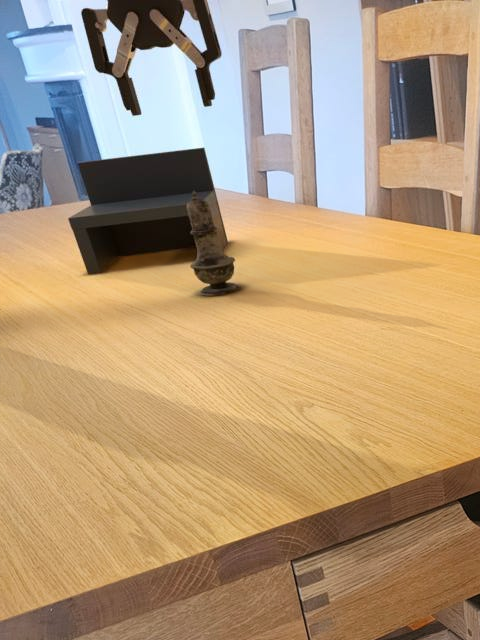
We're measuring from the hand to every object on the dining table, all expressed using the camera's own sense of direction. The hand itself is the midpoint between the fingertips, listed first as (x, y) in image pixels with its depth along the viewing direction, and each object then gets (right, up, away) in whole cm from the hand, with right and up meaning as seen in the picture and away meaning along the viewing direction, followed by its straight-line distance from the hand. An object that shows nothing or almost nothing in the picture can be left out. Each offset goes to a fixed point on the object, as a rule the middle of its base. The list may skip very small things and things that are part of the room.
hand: (172, 110), depth 99 cm
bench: (-15, -1, +36) cm, 39 cm away
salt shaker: (+2, -17, +12) cm, 21 cm away
